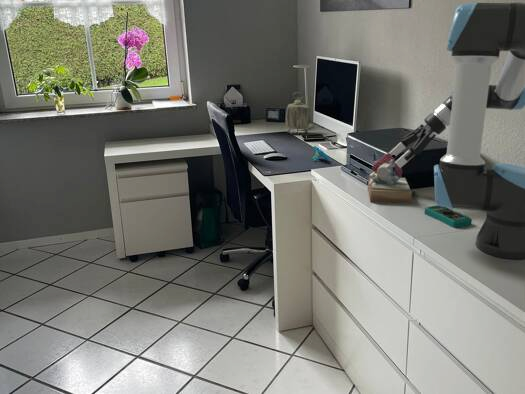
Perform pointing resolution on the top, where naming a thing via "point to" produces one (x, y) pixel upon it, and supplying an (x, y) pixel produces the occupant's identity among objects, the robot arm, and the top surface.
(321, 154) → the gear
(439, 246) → the top surface
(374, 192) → the walnut stand
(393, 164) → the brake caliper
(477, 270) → the top surface
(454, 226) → the digital multimeter
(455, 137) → the robot arm
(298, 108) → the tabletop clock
